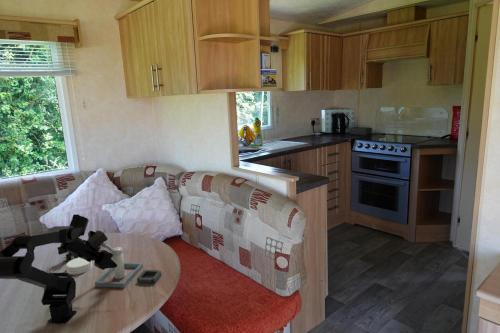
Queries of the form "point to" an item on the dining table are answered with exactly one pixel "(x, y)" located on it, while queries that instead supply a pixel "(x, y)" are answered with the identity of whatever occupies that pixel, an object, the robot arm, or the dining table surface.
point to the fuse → (118, 262)
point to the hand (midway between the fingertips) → (110, 263)
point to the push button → (70, 256)
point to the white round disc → (78, 266)
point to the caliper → (106, 246)
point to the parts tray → (119, 284)
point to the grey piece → (149, 278)
